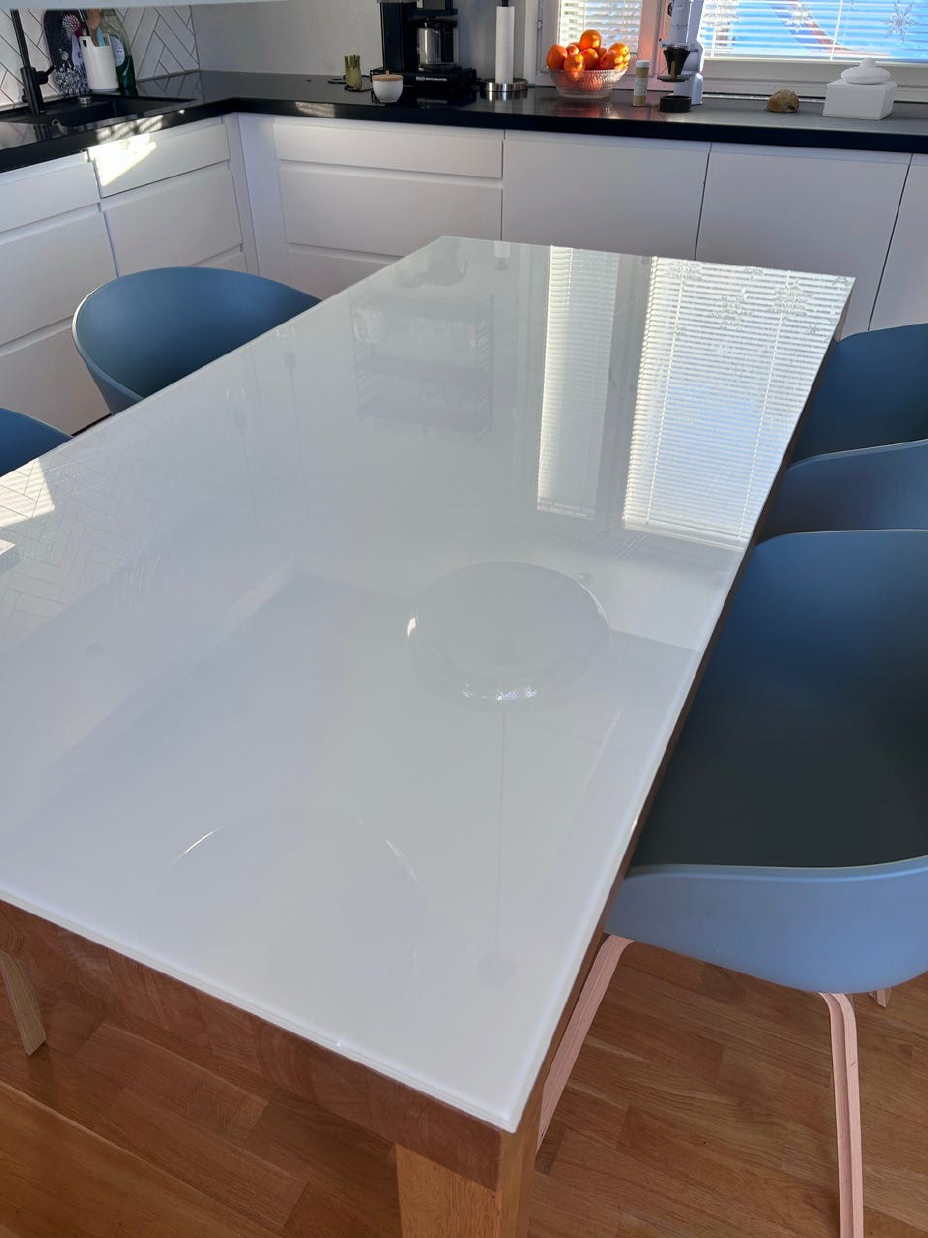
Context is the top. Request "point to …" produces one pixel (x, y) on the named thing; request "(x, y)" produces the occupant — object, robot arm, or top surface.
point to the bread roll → (783, 102)
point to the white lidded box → (861, 93)
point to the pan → (675, 104)
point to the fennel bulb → (353, 72)
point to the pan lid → (673, 76)
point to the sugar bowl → (388, 87)
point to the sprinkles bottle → (641, 83)
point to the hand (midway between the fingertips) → (674, 74)
